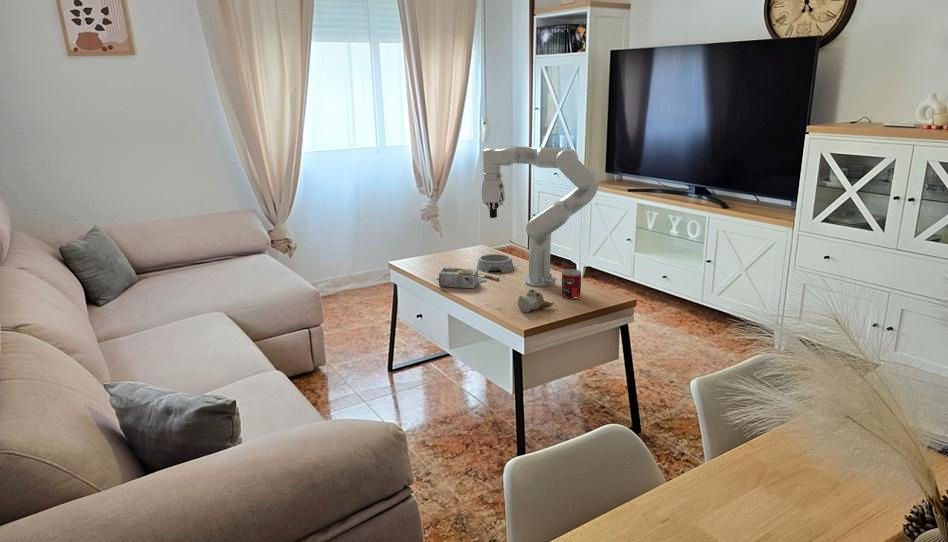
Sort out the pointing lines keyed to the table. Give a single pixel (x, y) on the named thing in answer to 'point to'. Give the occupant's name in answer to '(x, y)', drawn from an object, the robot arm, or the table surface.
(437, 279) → the mat
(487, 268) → the dog bowl
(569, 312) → the table surface
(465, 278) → the coffee box
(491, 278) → the turner
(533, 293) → the ceramic sculpture
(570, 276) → the canned food
